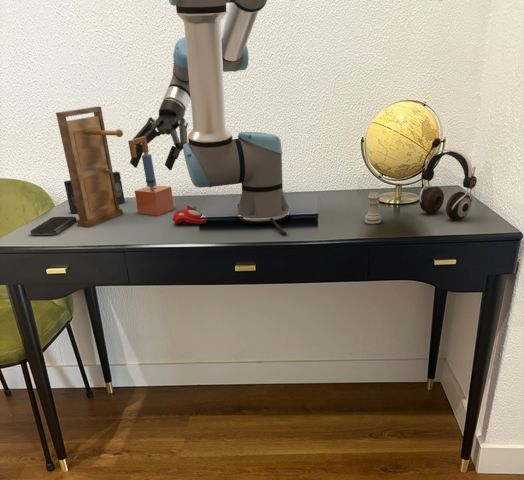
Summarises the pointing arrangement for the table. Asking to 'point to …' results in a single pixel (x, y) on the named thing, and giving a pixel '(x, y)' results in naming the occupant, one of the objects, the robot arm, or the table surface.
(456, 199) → the headset
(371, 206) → the rook chess piece
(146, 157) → the umbrella
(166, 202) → the stand
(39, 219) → the table surface
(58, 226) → the phone
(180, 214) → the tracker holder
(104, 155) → the door
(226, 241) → the table surface
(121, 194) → the vhs cassette tape
